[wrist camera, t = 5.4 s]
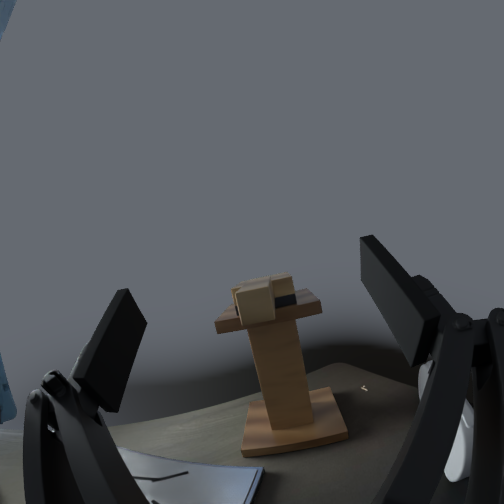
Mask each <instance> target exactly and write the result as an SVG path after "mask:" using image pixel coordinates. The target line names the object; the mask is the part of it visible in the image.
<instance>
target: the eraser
mask: <svg viewBox="0 0 504 504" xmlns="http://www.w3.org/2000/svg"><path fill="white" fill-rule="evenodd" d="M231 292H232V297H233V301H234V305H235V310H236V314H237V316H239V315H240V320H241V324H242V326H244V325H249V324H255V323H260V322H265V321H270V320H274V319H275V308H279V307H284V306H289V305H293V304H297V300H296V295H295V290H294V286H293V281H292V276H290V275H289V273H288V272H284V273H279V274H275V275H270V276H265V277H260V278H256V279H251V280H247V281H242V282H240V283H239V284H237V285H236V286H235V287H233V288H232V289H231Z"/></svg>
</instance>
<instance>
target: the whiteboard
mask: <svg viewBox="0 0 504 504" xmlns="http://www.w3.org/2000/svg"><path fill="white" fill-rule="evenodd" d="M116 447H117V449H118V451H119V453H120V455H121V457H122V458H123V460H124V462H125V464H126V466H127V467H128V469H129V471H130V473H131V474H132V476H133V478H134V479H135V481H136V483H137V484H138V486H139V487H140V489H141V491H142V492H143V494H144V495H145V497H146V498H147V500H148V501H149V503H150V504H254V501H255V499H256V496H257V493H258V491H259V488H260V485H261V482H262V480H263V477H264V474H265V470H264V467H241V466H224V465H212V464H203V463H195V462H188V461H181V460H175V459H169V458H164V457H159V456H154V455H150V454H145V453H141V452H137V451H133V450H129V449H126V448H122V447H118V446H116Z"/></svg>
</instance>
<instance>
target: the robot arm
mask: <svg viewBox="0 0 504 504" xmlns="http://www.w3.org/2000/svg"><path fill="white" fill-rule="evenodd" d="M15 3H16V0H0V40H1V37H2V34H3V32H4V31H5V28H6V26H7V23H8V21H9V18H10V16H11V13H12V11H13V8H14V6H15ZM360 255H361V281H362V282H363V284H364V286H365V287H366V289H367V290H368V292H369V294H370V295H371V297H372V299H373V300H374V302H375V304H376V305H377V307H378V309H379V310H380V312H381V314H382V315H383V317H384V319H385V321H386V322H387V324H388V326H389V328H390V329H391V331H392V333H393V335H394V336H395V338H396V340H397V342H398V344H399V346H400V348H401V349H402V351H403V353H404V355H405V357H406V358H407V361H408V363H409V364H410V366H411V367H414V366H416V365H419V364H421V363H424V362H426V360H427V358H428V355H429V353H430V354H431V356H432V358H433V361H432V364H431V366H430V369H429V371H428V374H429V375H428V378H427V382H426V385H425V388H424V391H423V394H422V397H421V400H420V403H419V406H418V409H417V412H416V414H415V417H414V419H413V422H412V425H411V427H410V429H409V432H408V434H407V437H406V439H405V441H404V443H403V446H402V448H401V450H400V452H399V454H398V456H397V458H396V460H395V462H394V464H393V466H392V468H391V470H390V472H389V474H388V476H387V478H386V479H385V481H384V483H383V485H382V487H381V488H380V490H379V492H378V493H377V495H376V497H375V498H374V500H373V501H372V503H371V504H429V503H430V500H431V498H432V496H433V494H434V492H435V490H436V488H437V486H438V483H439V481H440V479H441V476H442V474H443V471H444V469H445V466H446V464H447V461H448V458H449V456H450V453H451V450H452V447H453V444H454V441H455V438H456V434H457V431H458V427H459V424H460V420H461V416H462V412H463V408H464V404H465V399H466V394H467V389H468V384H469V378H470V372H471V371H472V383H473V404H474V428H473V448H472V460H471V469H470V476H469V483H468V489H467V494H466V499H465V504H504V309H503V308H495V309H493V310H492V311H491V312H490V314H489V317H488V319H480V320H472V318H470V317H469V316H468V315H466V314H463V313H456V312H455V310H454V309H453V308H452V307H451V306H450V304H449V303H448V302H447V301H446V300H445V298H444V297H443V296H442V295H441V294H439V291H438V290H437V289H436V288H434V286H433V285H432V283H431V282H430V281H429V280H428V279H426V278H424V277H422V276H421V275H417V276H414V277H410V275H409V274H408V273H407V272H406V271H405V270H404V269H403V267H402V266H401V265H400V264H399V263H398V262H397V261H396V259H395V258H394V257H393V256H392V255H391V254H390V253H389V252H388V251H387V249H386V248H385V247H384V246H383V245H382V244H381V243H380V242H379V241H378V240H377V239H376V238H375V237H374V236H373V235H369V236H364V237H360ZM146 325H147V322H146V320H145V318H144V316H143V315H142V313H141V311H140V310H139V308H138V306H137V304H136V302H135V301H134V299H133V297H132V295H131V293H130V291H129V289H128V288H126V289H121V290H117V292H116V294H115V296H114V298H113V299H112V301H111V303H110V305H109V306H108V308H107V310H106V311H105V313H104V315H103V317H102V319H101V321H100V322H99V324H98V326H97V328H96V330H95V332H94V334H93V336H92V338H91V340H90V341H88V342H87V344H86V345H85V346H84V347H83V349H82V351H81V353H80V356H79V357H78V359H77V362H76V363H75V365H74V367H73V370H72V371H71V374H70V376H69V378H68V380H66V378H65V377H64V376H63V375H62V374H61V373H60V372H59V371H58V370H51V371H49V372H48V373H47V374H46V375H45V376H44V377H43V380H42V382H41V386H42V387H43V388H44V389H45V390H46V391H47V392H48V393H49V394H47V395H45V394H44V393H43V392H42V391H41V390H40V389H35V390H33V391H32V392H31V393H30V394H29V396H28V398H27V402H26V410H25V421H24V436H23V475H24V490H25V500H26V504H150V503H149V501H148V500H147V498H146V497H145V495H144V494H143V492H142V491H141V489H140V487H139V486H138V484H137V483H136V481H135V479H134V478H133V476H132V474H131V473H130V471H129V469H128V467H127V466H126V464H125V462H124V460H123V458H122V457H121V455H120V453H119V451H118V449H117V447H116V445H115V443H114V441H113V439H112V437H111V435H110V433H109V430H108V428H107V426H106V424H105V422H104V419H103V417H102V415H101V413H100V412H99V411H98V408H99V406H100V407H102V408H103V409H104V410H105V411H106V412H115V413H118V411H119V407H120V404H121V400H122V397H123V394H124V391H125V388H126V384H127V381H128V378H129V374H130V372H131V369H132V366H133V363H134V359H135V357H136V354H137V351H138V348H139V345H140V342H141V340H142V337H143V334H144V331H145V328H146ZM16 414H17V409H16V406H15V403H14V400H13V397H12V394H11V391H10V388H9V385H8V381H7V378H6V374H5V370H4V366H3V362H2V358H1V354H0V424H3V422H5V421H8V420H11V419H14V418H15V417H16ZM48 425H49V426H51V427H52V432H51V431H50V430H48Z"/></svg>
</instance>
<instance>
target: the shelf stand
mask: <svg viewBox="0 0 504 504" xmlns="http://www.w3.org/2000/svg"><path fill="white" fill-rule="evenodd" d="M295 295H296V300H297V304H293V305H289V306H284V307H279V308H275V319H274V320H270V321H265V322H260V323H255V324H249V325H244V326H242V324H241V320H240V315H239V316H237V314H236V310H235V305H234V304H231V305H230V306H229V307H228V308H227V309H226V310H225V311H224V312H223V313H222V314H221V316H219V317H218V318H217V320H216V321H215V322H214V323H215V327H216V331H217V334H221V333H227V332H233V331H239V330H244V329H247V331H248V336H249V340H250V344H251V349H252V353H253V357H254V361H255V365H256V369H257V373H258V378H259V382H260V386H261V390H262V394H263V398H264V400H261V401H254V402H250V404H249V409H248V415H247V420H246V425H245V431H244V436H243V441H242V446H241V452H242V455H243V457H253V456H262V455H270V454H278V453H285V452H291V451H297V450H302V449H307V448H312V447H317V446H321V445H326V444H330V443H334V442H338V441H342V440H345V439H348V438H349V436H348V429H347V427H346V425H345V422H344V420H343V417H342V415H341V413H340V410H339V408H338V405H337V403H336V401H335V398H334V396H333V393H332V391H331V389H330V387H326V388H322V389H318V390H313V391H309V390H308V384H307V379H306V373H305V368H304V362H303V357H302V351H301V346H300V341H299V336H298V331H297V326H296V321H295V319H298V318H303V317H307V316H311V315H316V314H320V313H322V308H321V302H320V300H319V299H318V298H317V297H316V296H315V295H314V294H313V293H311V292H310V291H309V290H308V289H302V290H298V291H295Z"/></svg>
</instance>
